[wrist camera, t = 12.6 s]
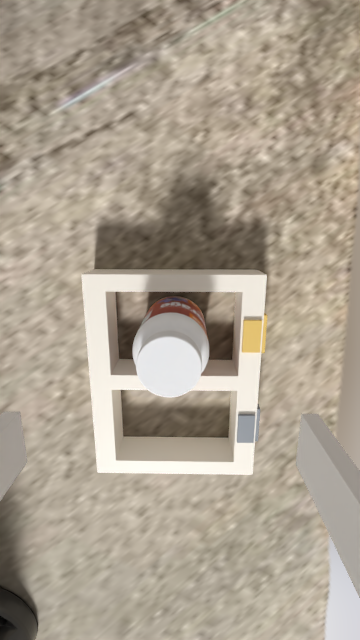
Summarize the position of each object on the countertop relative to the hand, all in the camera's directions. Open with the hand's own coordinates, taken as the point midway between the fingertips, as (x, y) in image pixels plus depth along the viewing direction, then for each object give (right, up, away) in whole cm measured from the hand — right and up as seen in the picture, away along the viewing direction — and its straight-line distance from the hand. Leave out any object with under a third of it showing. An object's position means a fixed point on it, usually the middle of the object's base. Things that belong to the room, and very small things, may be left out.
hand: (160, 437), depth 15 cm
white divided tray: (0, +1, +19) cm, 19 cm away
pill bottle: (0, +5, +18) cm, 19 cm away
